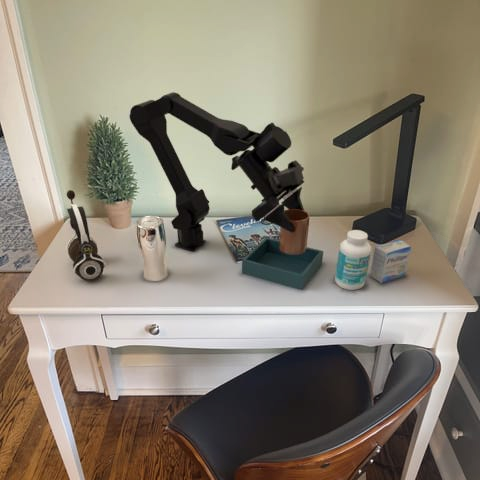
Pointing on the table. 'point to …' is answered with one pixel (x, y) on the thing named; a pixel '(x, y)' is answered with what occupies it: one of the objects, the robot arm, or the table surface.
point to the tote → (281, 264)
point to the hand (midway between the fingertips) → (299, 225)
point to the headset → (83, 245)
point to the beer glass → (152, 246)
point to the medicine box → (390, 261)
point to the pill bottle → (353, 260)
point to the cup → (295, 233)
